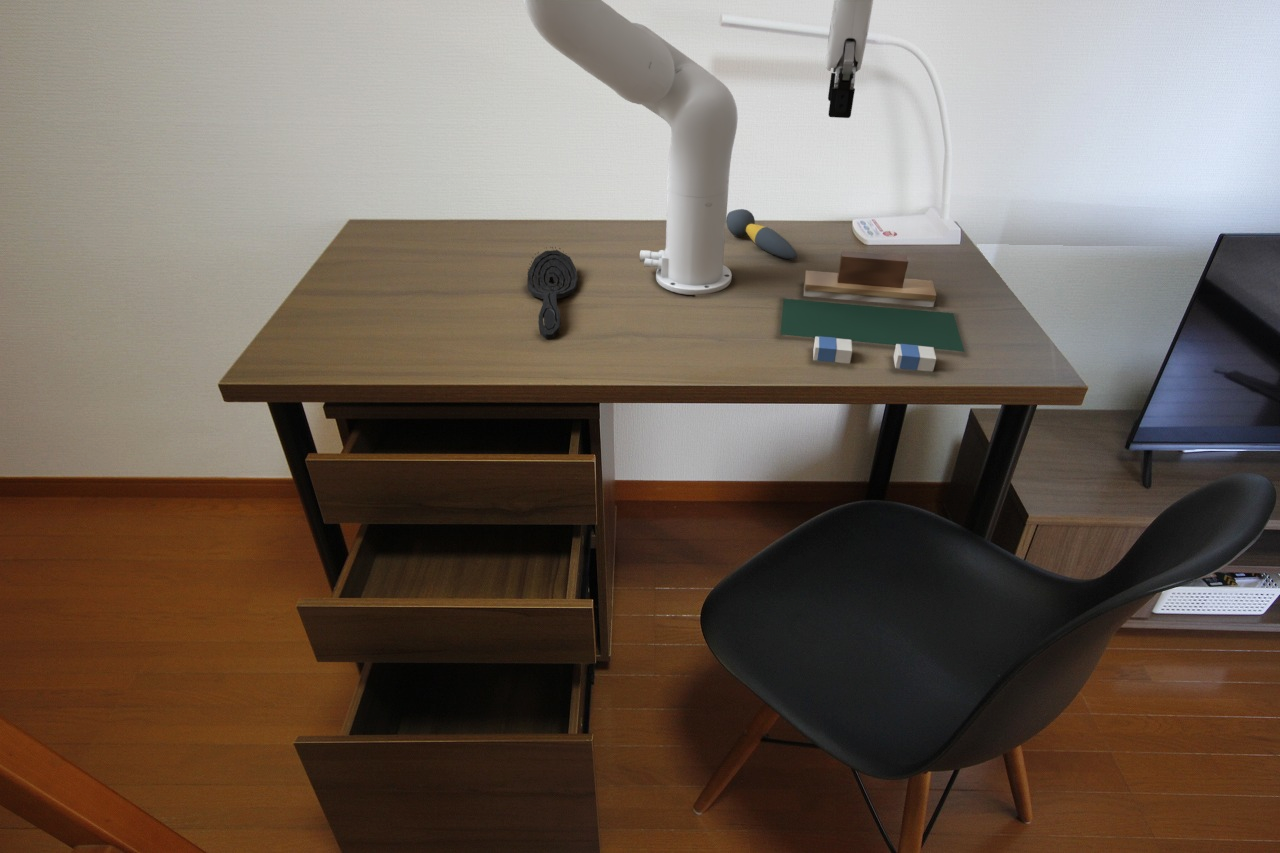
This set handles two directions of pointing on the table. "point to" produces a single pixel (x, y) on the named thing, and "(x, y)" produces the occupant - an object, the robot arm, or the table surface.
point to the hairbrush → (551, 287)
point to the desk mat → (870, 324)
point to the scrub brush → (870, 281)
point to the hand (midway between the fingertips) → (838, 108)
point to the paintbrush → (759, 234)
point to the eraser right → (914, 357)
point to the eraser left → (832, 349)
